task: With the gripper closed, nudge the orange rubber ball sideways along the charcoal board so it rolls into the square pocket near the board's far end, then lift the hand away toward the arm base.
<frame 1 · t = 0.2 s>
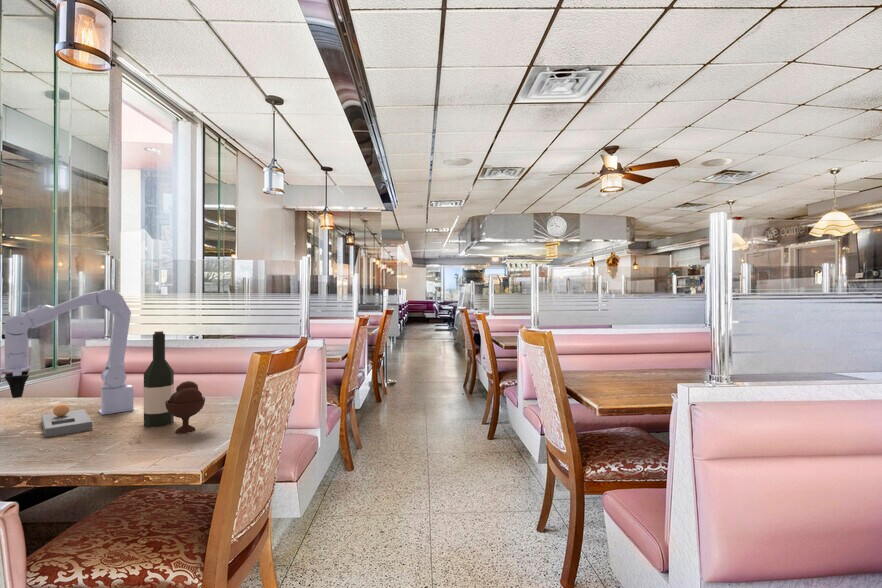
hand: (17, 395, 145), 10 cm above the table, fingers open, 7 cm apart
board: (66, 425, 144), on the table
wine bottle: (158, 424, 146), on the table
ball: (61, 410, 146), point 4 cm above the table, touching board
ice cream bowl: (185, 431, 138), on the table
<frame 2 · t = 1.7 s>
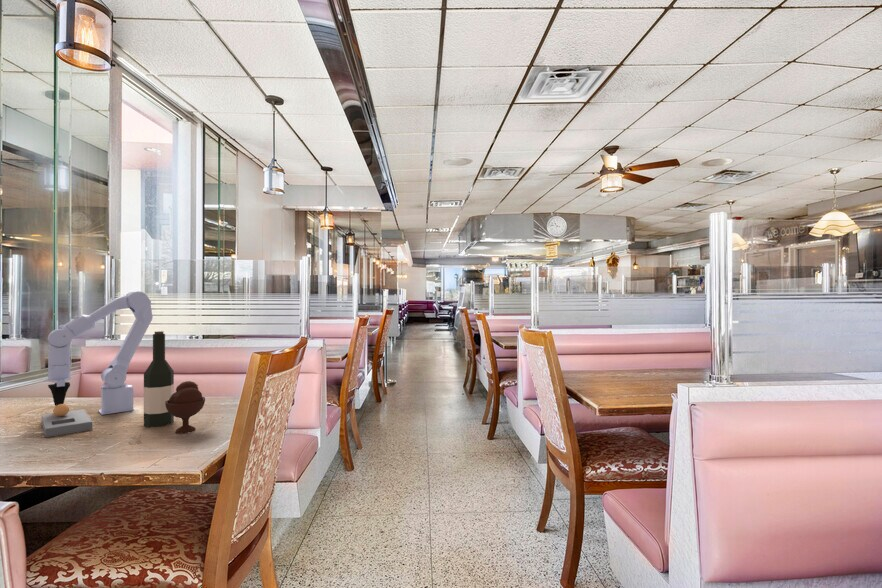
hand: (59, 405, 152), 5 cm above the table, fingers closed
nothing on the table moved.
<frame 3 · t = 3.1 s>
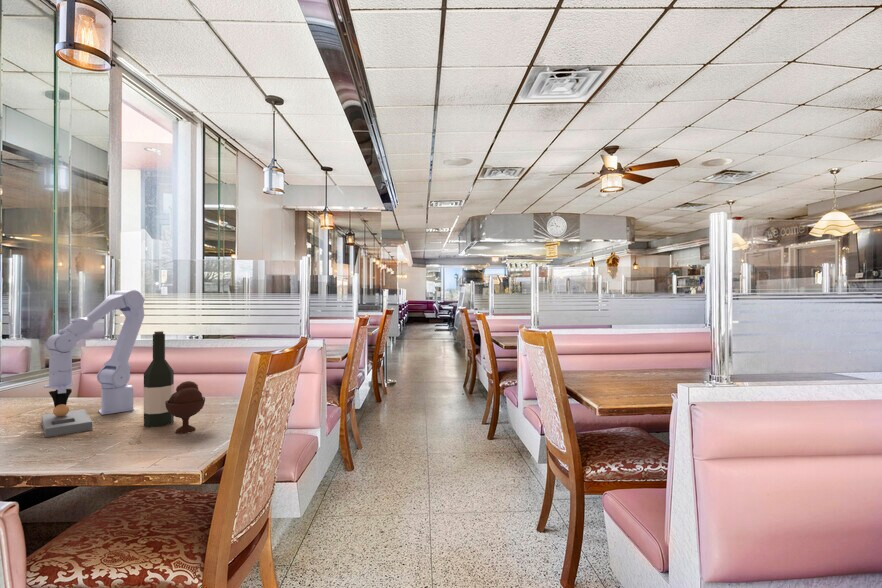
hand: (60, 412, 148), 4 cm above the table, fingers closed, pressing on ball
ball: (61, 410, 146), point 4 cm above the table, tilted 7°, touching board, gripper
everything else where it was.
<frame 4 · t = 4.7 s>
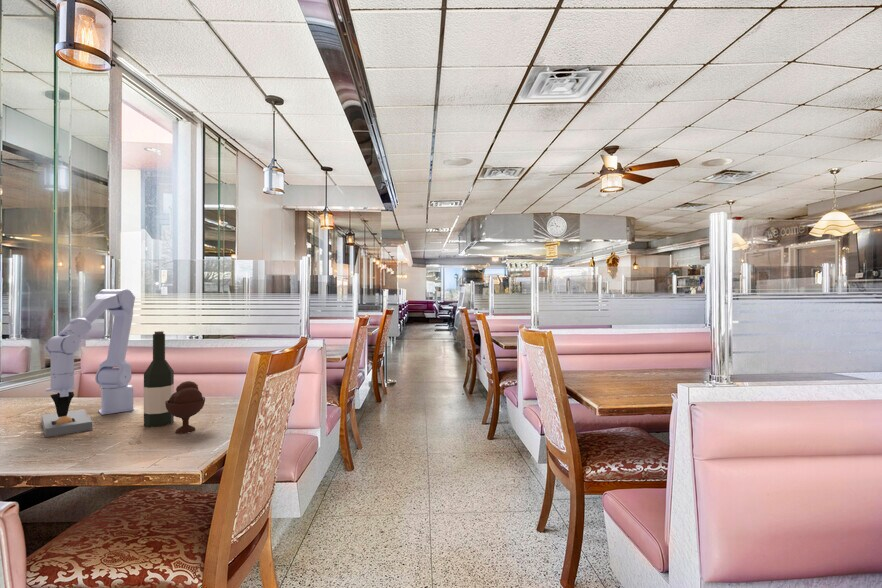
hand: (62, 416, 143), 3 cm above the table, fingers closed
ball: (64, 422, 141), point 2 cm above the table, tilted 80°
everything else where it was.
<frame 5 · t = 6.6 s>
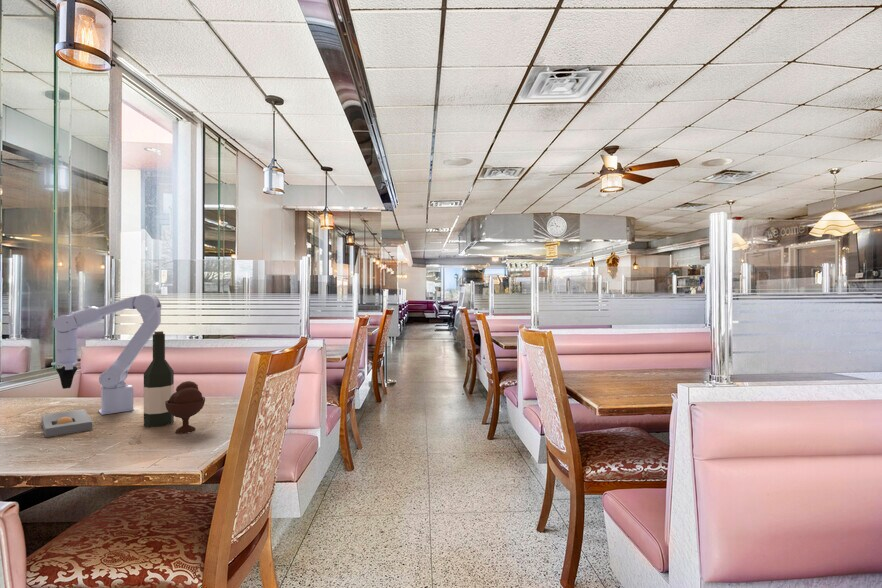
hand: (66, 388, 158), 9 cm above the table, fingers closed
ball: (64, 423, 140), point 2 cm above the table, tilted 42°
everything else where it was.
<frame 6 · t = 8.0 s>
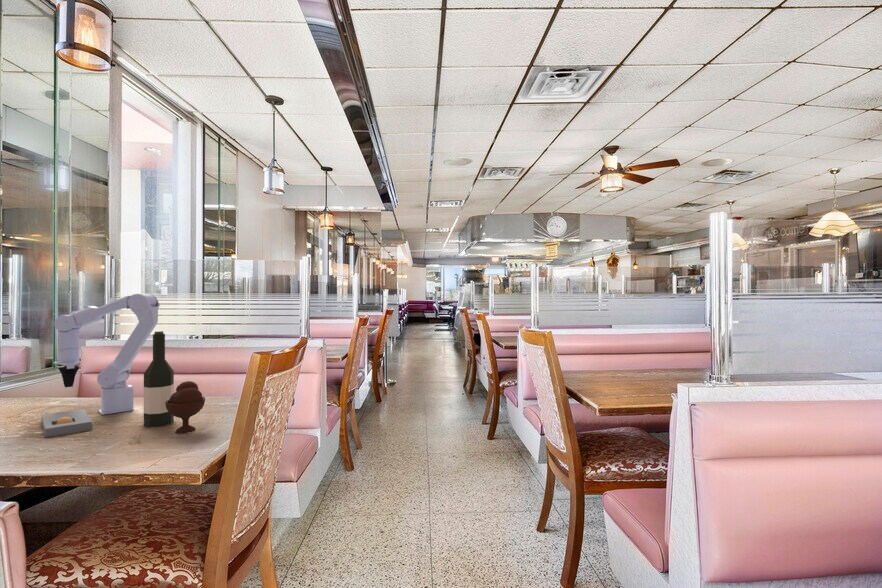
hand: (68, 386, 160), 9 cm above the table, fingers closed
nothing on the table moved.
at the end: ball 0.7 cm from the target spot on the board, point 2.0 cm above the board's base; ball touching table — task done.
